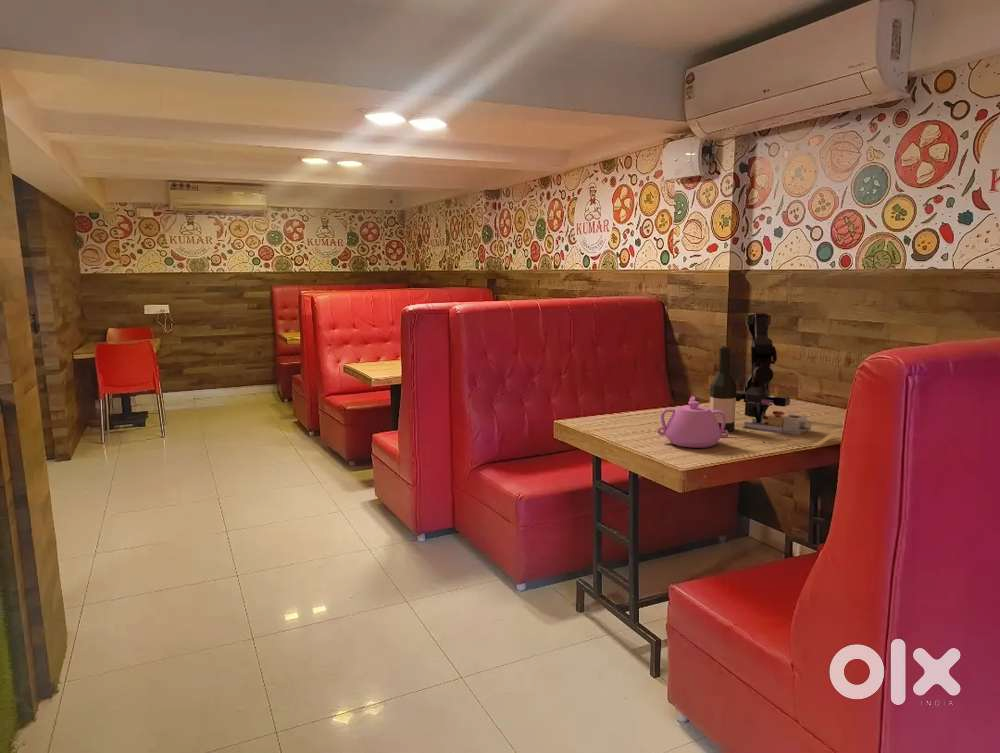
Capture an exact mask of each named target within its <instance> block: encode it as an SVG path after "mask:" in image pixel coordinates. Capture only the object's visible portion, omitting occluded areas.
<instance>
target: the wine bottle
mask: <svg viewBox="0 0 1000 753" xmlns="http://www.w3.org/2000/svg"><path fill="white" fill-rule="evenodd" d="M718 354H719V356H718V373H717V374H716V376H715V377H714V379H713V380H712V381H711V383H710V392H709V409H710V410H711V411H714V410H720V411H722V412H724V413H725V415H726V418H727V419H726V424H725V427H724V430H727V431H728V432H729V433H733V432H735V422H736V402H737V401H736V391H737V384H736V382H735V381H734V379H733V377H732V375H731V373H730V362H731V348H730V346H729V345H721V346H720V347H719V353H718ZM714 416H715V418H716V420H717V422H718V424H719V427H720V428H721V425H722V422H723V416H722V415H721V414H714Z"/></svg>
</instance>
